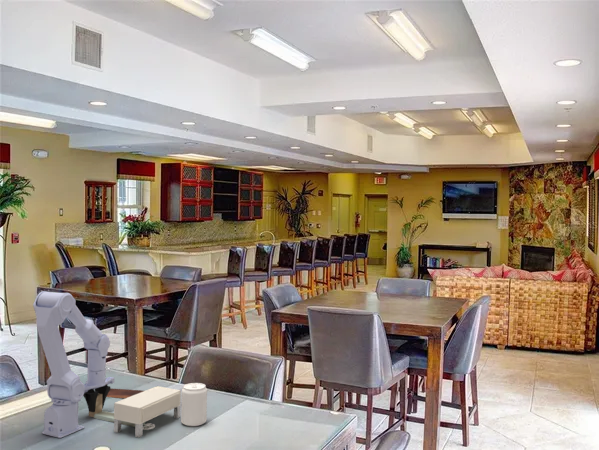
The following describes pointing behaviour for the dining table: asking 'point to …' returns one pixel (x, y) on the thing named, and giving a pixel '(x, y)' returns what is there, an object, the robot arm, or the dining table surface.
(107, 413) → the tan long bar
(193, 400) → the beverage can
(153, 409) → the cream toy bench
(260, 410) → the dining table surface
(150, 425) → the steel token
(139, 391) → the wooden tablet
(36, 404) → the dining table surface
